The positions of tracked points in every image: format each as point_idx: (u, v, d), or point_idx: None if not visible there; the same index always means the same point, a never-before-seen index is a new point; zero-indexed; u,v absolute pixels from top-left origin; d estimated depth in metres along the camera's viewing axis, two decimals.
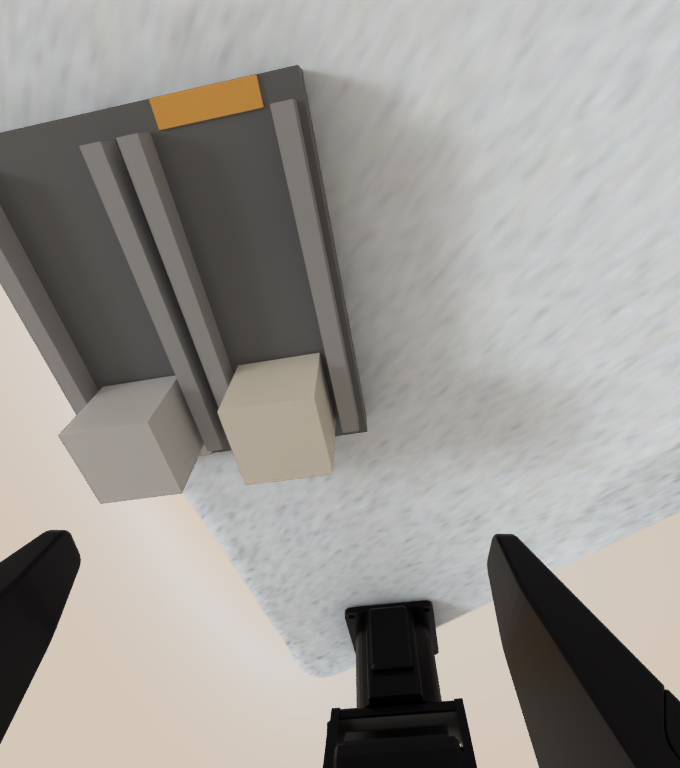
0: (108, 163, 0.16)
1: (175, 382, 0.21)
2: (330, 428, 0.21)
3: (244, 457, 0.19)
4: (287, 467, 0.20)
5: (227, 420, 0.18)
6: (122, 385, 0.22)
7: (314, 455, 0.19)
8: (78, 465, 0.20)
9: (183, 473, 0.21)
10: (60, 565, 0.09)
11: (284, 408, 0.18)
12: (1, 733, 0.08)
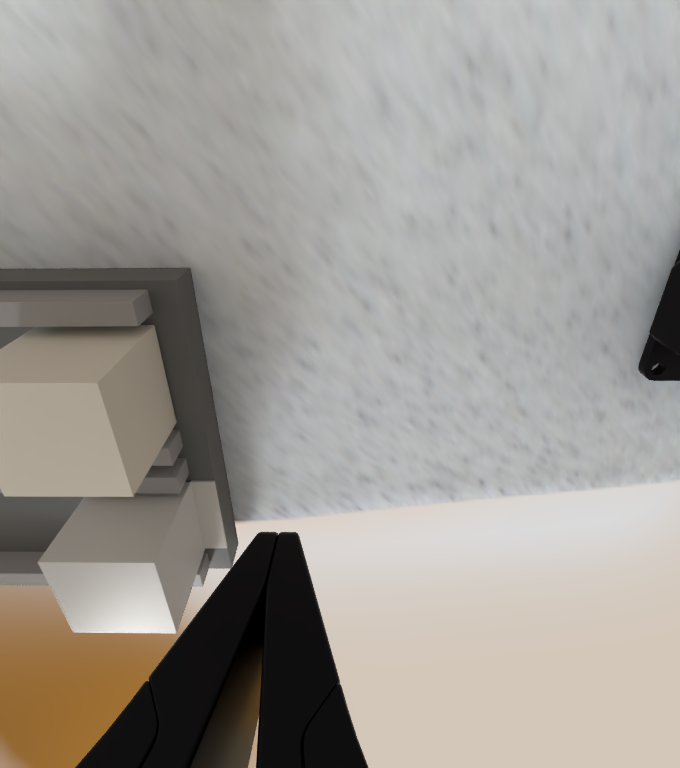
0: None
1: None
2: (99, 349, 0.14)
3: (79, 486, 0.14)
4: (92, 440, 0.13)
5: (14, 489, 0.14)
6: None
7: (60, 401, 0.12)
8: (116, 631, 0.17)
9: (148, 544, 0.16)
10: None
11: None
12: (253, 738, 0.08)
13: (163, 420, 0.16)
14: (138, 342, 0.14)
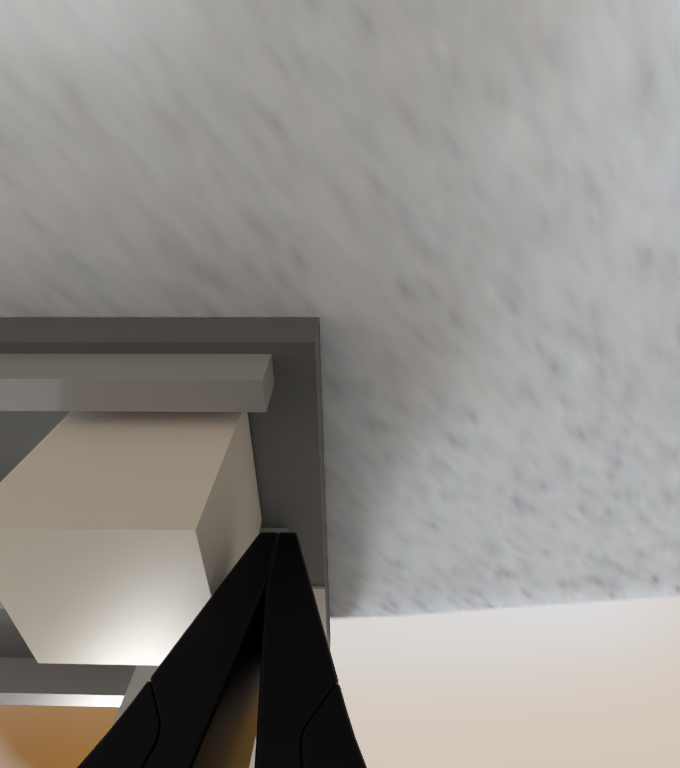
0: None
1: None
2: (179, 450, 0.09)
3: (149, 654, 0.09)
4: (177, 602, 0.08)
5: (53, 656, 0.09)
6: None
7: (134, 553, 0.08)
8: None
9: None
10: None
11: (1, 578, 0.08)
12: (254, 738, 0.08)
13: (252, 528, 0.12)
14: (232, 435, 0.10)
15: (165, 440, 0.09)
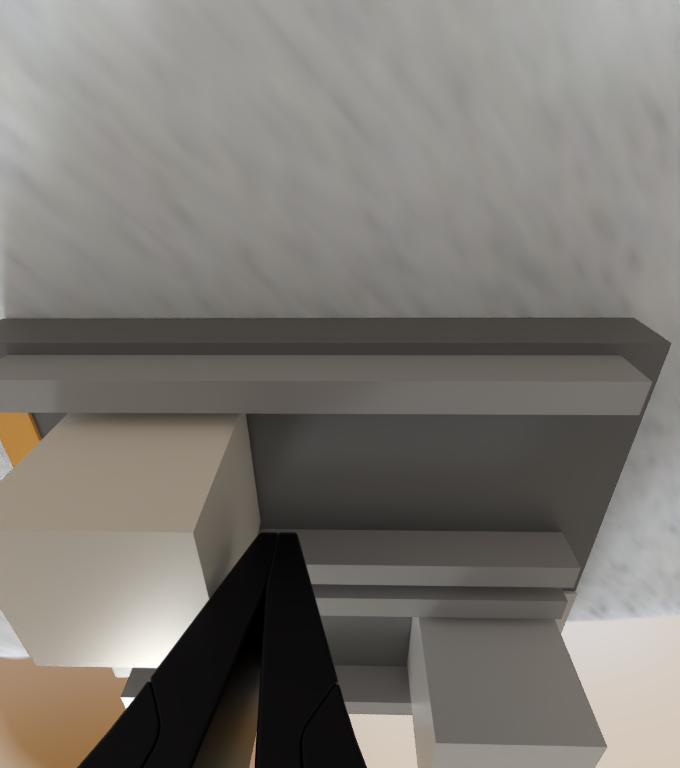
0: None
1: None
2: (177, 452, 0.09)
3: (147, 656, 0.09)
4: (174, 604, 0.08)
5: (51, 659, 0.09)
6: (409, 651, 0.15)
7: (132, 555, 0.08)
8: None
9: (571, 709, 0.11)
10: None
11: None
12: (254, 738, 0.08)
13: (251, 529, 0.12)
14: (231, 436, 0.10)
15: (163, 441, 0.09)
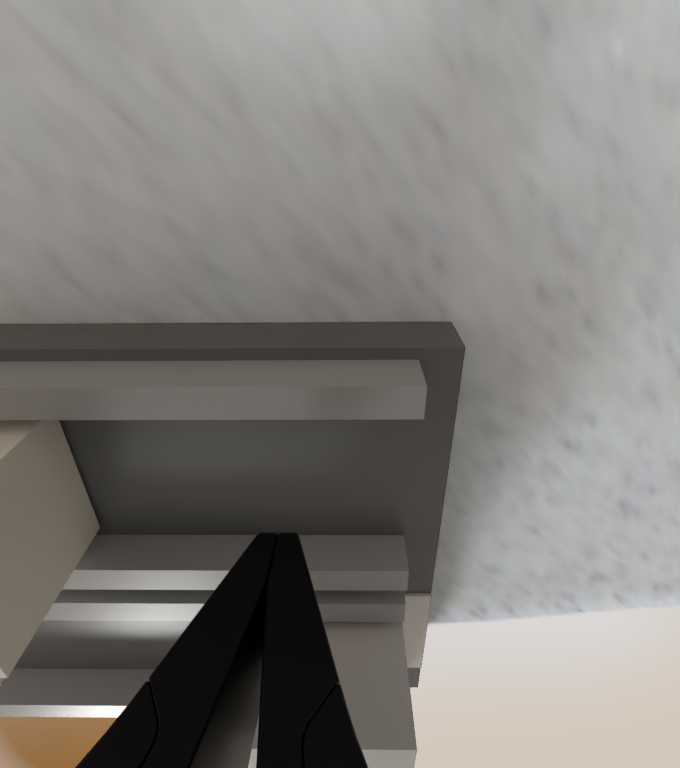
0: None
1: None
2: None
3: None
4: None
5: None
6: None
7: None
8: None
9: (392, 712, 0.11)
10: None
11: None
12: (253, 738, 0.08)
13: (74, 536, 0.12)
14: (19, 443, 0.10)
15: None
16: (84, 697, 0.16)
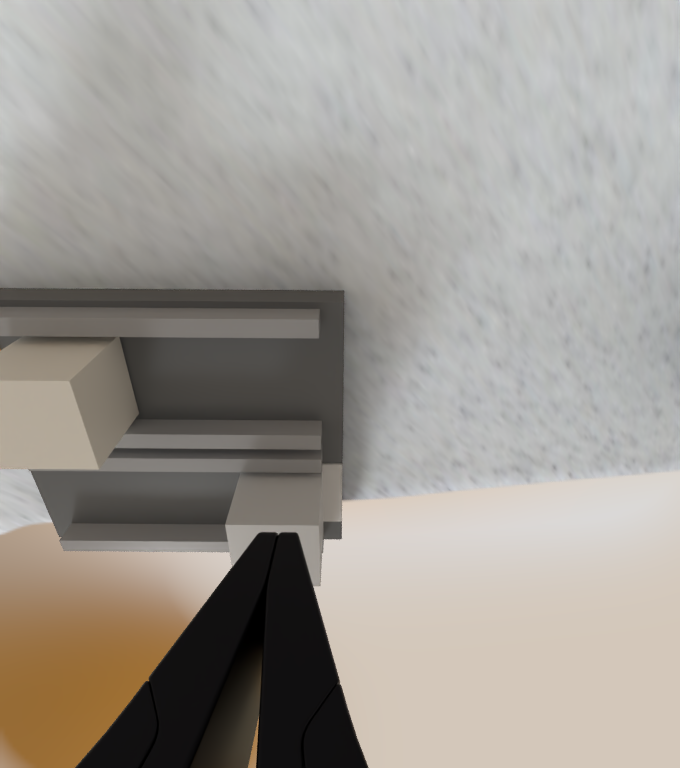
0: None
1: (242, 472, 0.22)
2: (72, 354, 0.18)
3: (56, 461, 0.17)
4: (66, 425, 0.17)
5: (5, 463, 0.18)
6: None
7: (42, 394, 0.16)
8: None
9: (308, 512, 0.20)
10: None
11: None
12: (253, 738, 0.08)
13: (127, 411, 0.20)
14: (104, 349, 0.18)
15: (66, 351, 0.18)
16: (121, 537, 0.24)
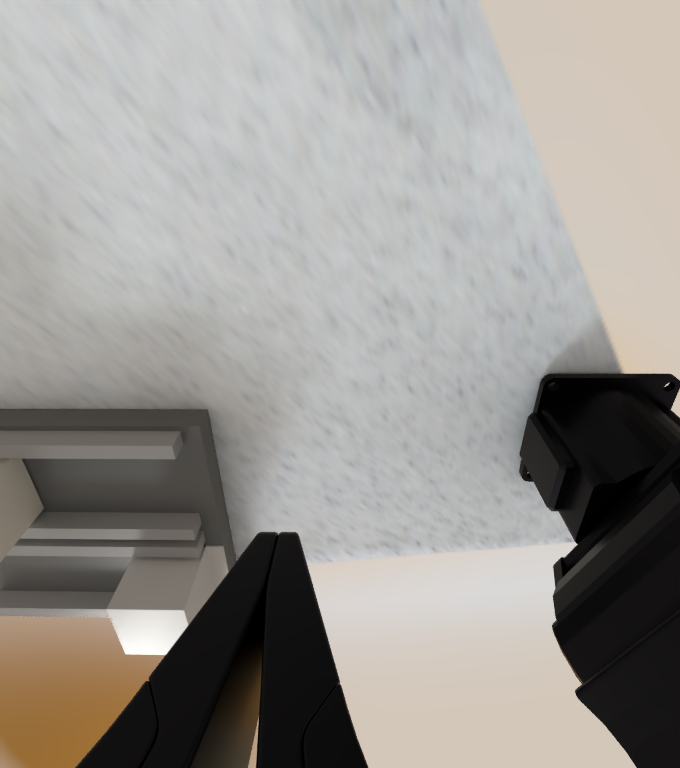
0: None
1: None
2: None
3: None
4: None
5: None
6: None
7: None
8: (155, 653, 0.25)
9: (179, 596, 0.24)
10: None
11: None
12: (253, 738, 0.08)
13: (29, 511, 0.24)
14: (0, 468, 0.22)
15: None
16: (41, 604, 0.28)
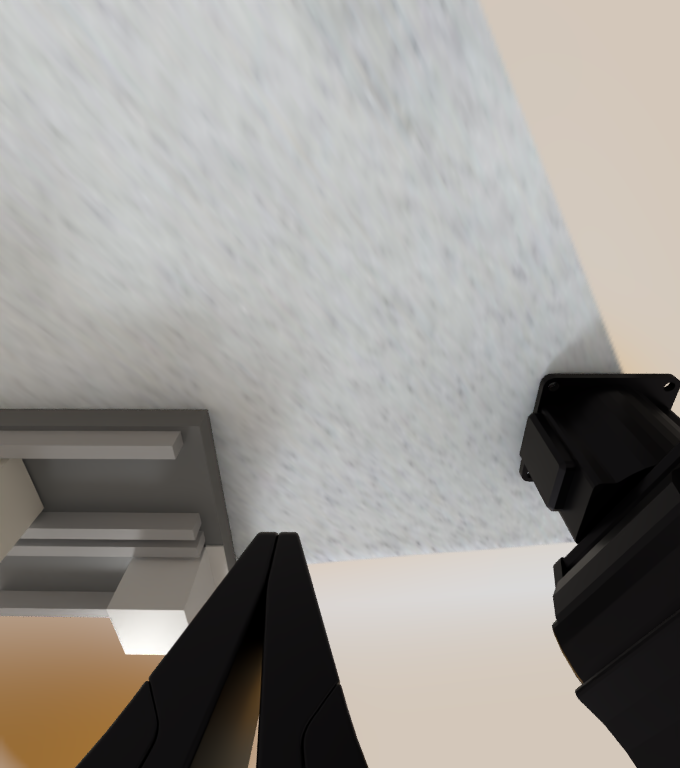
0: None
1: None
2: None
3: None
4: None
5: None
6: None
7: None
8: (155, 653, 0.25)
9: (179, 596, 0.24)
10: None
11: None
12: (253, 738, 0.08)
13: (29, 511, 0.24)
14: (0, 468, 0.22)
15: None
16: (41, 604, 0.28)
